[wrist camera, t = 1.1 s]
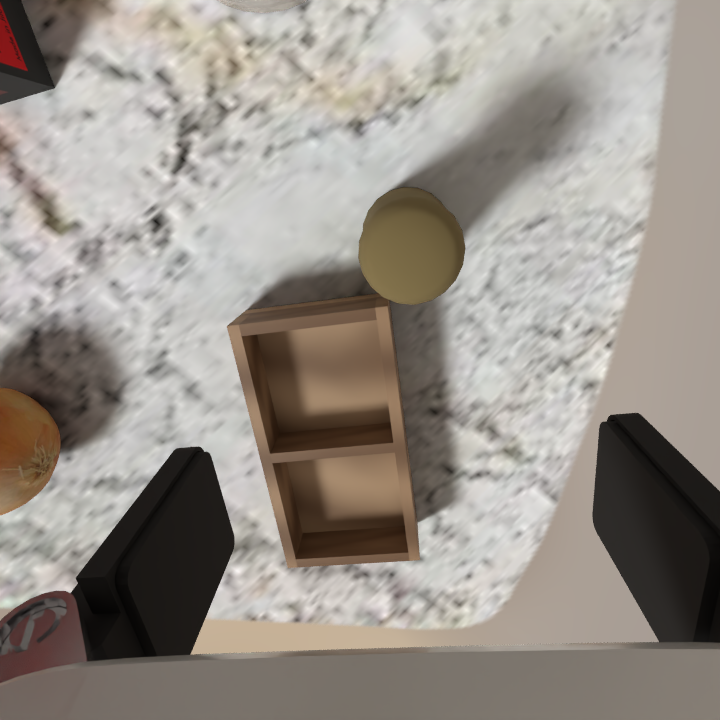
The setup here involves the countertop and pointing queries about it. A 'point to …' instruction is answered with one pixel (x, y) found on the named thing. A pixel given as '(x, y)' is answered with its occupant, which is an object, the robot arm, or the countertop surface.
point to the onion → (25, 448)
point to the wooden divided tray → (330, 428)
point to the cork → (410, 246)
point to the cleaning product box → (20, 55)
